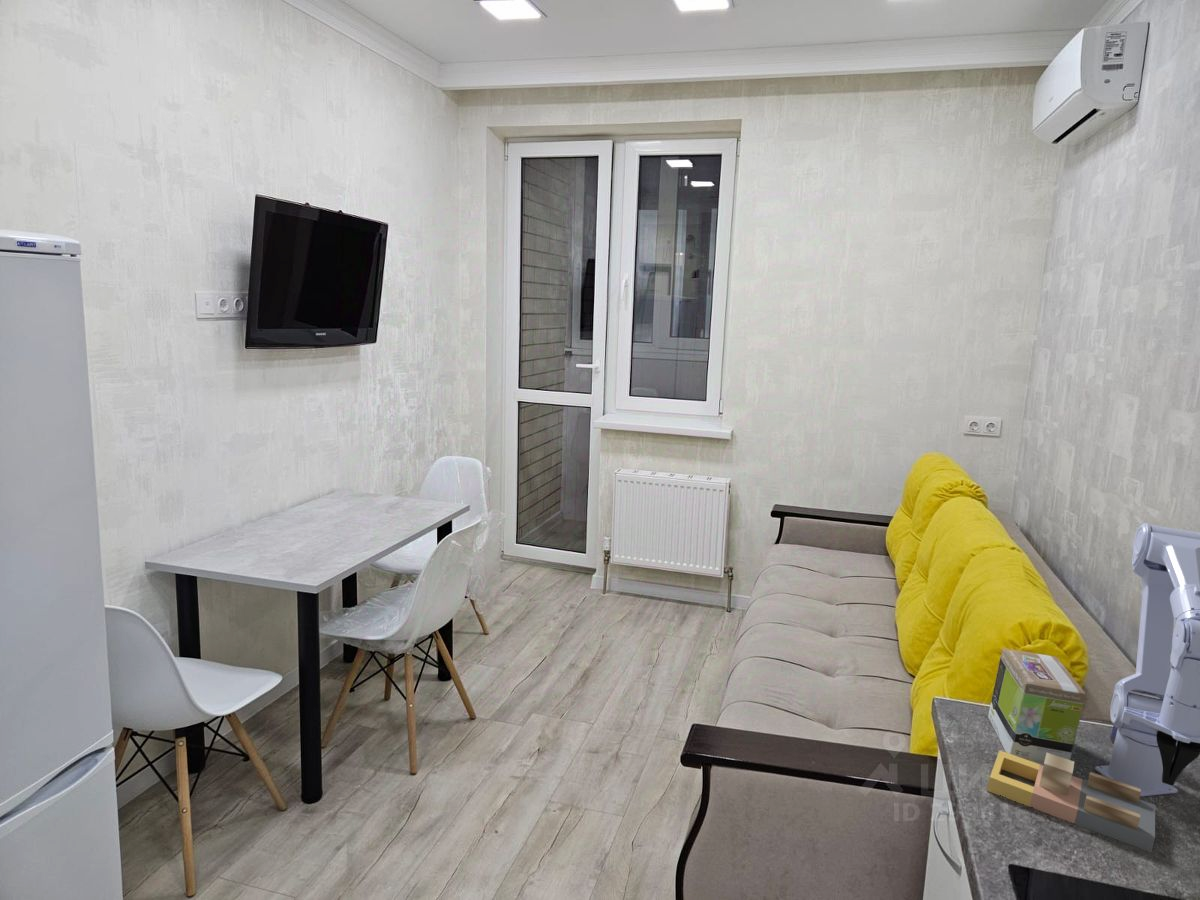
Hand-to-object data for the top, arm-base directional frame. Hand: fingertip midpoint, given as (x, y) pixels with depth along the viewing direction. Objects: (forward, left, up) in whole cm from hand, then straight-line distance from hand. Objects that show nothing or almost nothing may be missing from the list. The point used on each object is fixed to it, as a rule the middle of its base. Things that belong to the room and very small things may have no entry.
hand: (1167, 781), depth 122 cm
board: (+8, -8, -9) cm, 15 cm away
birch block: (+9, -10, -7) cm, 16 cm away
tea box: (+1, -25, -10) cm, 27 cm away
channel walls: (+4, -4, -7) cm, 9 cm away
